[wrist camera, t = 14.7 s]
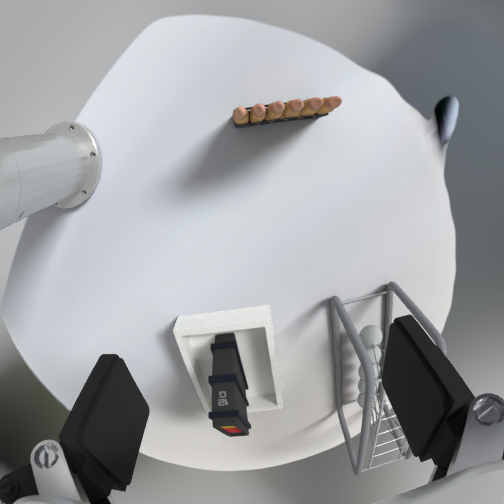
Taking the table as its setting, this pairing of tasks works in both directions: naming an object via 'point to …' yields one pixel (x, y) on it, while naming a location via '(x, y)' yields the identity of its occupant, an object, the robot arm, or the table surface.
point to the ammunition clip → (285, 111)
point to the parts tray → (250, 349)
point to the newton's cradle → (372, 371)
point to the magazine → (228, 388)
